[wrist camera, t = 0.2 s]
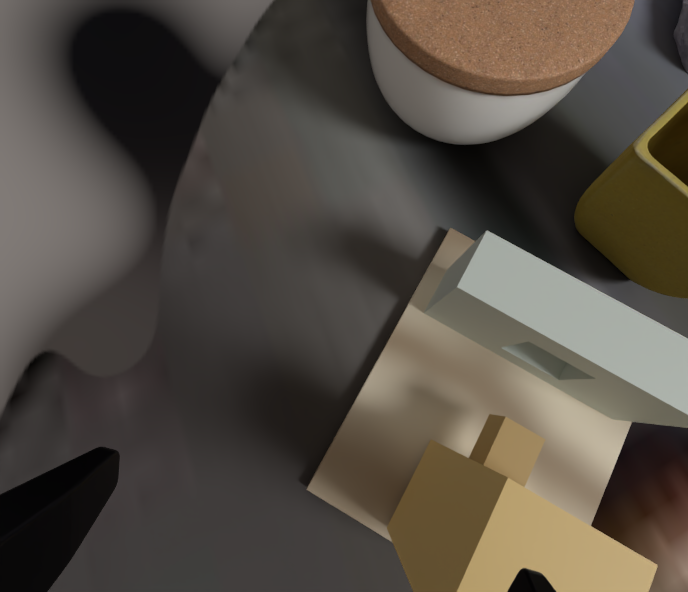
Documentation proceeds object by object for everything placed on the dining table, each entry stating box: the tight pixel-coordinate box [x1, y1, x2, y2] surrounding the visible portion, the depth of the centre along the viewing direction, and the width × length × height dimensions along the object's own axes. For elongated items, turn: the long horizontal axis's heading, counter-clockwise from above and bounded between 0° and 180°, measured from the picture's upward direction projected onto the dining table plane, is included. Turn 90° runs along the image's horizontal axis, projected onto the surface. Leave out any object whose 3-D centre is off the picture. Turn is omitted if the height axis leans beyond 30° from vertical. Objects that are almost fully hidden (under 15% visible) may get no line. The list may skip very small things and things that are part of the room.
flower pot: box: [574, 89, 688, 298], centre depth 22 cm, size 9×9×9 cm
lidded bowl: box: [366, 0, 634, 145], centre depth 23 cm, size 13×13×11 cm
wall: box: [424, 231, 688, 428], centre depth 21 cm, size 3×12×6 cm, turn 60°
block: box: [387, 414, 658, 592], centre depth 17 cm, size 8×5×10 cm, turn 150°
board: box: [307, 228, 632, 542], centre depth 24 cm, size 17×14×1 cm
